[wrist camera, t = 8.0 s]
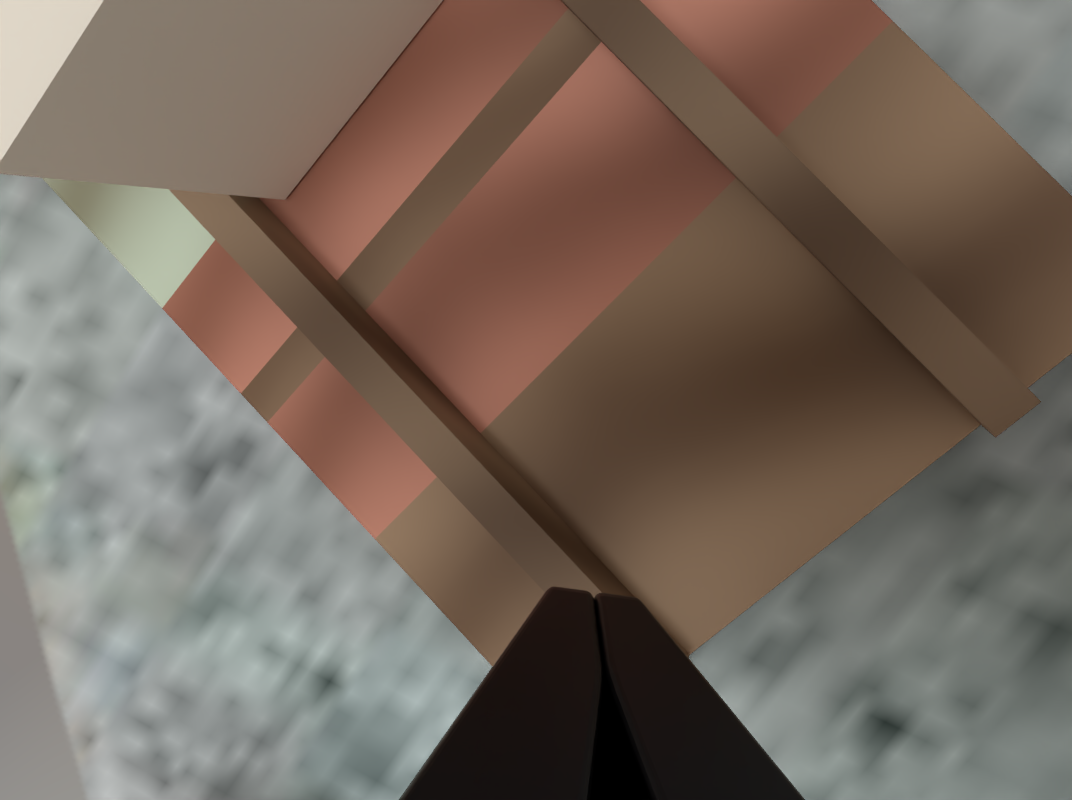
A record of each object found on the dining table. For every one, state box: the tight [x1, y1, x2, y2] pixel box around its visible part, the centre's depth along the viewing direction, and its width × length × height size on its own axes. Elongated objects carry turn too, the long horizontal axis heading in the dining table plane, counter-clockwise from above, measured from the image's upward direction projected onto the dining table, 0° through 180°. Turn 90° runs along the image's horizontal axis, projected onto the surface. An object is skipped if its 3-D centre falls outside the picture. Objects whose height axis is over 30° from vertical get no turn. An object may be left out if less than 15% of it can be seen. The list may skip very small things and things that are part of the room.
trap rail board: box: [43, 0, 1072, 666], centre depth 18 cm, size 21×16×4 cm
